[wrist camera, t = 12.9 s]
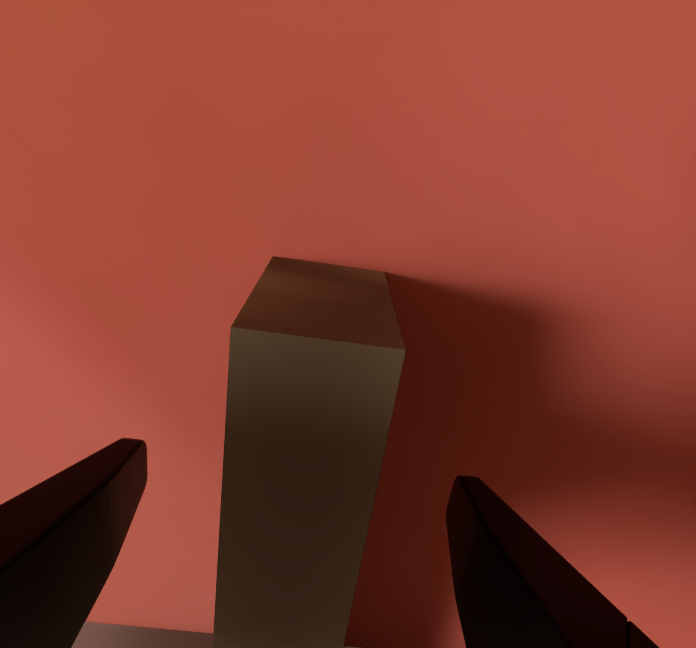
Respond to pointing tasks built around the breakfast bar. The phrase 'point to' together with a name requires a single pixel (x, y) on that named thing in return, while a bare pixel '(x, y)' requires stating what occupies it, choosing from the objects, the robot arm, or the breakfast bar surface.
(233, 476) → the scraper
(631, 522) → the breakfast bar surface
